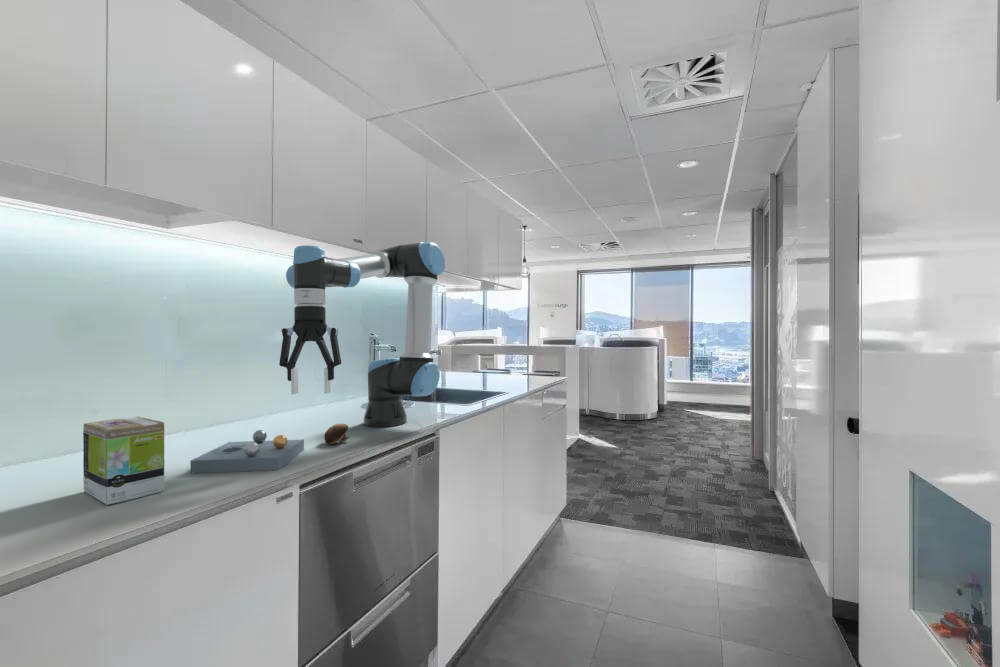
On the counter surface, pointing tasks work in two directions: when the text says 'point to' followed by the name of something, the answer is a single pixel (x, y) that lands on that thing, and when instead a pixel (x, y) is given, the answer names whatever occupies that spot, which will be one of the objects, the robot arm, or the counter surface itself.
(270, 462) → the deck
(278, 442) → the copper ball
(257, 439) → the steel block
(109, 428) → the tea box
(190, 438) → the counter surface
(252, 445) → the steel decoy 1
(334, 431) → the mushroom
